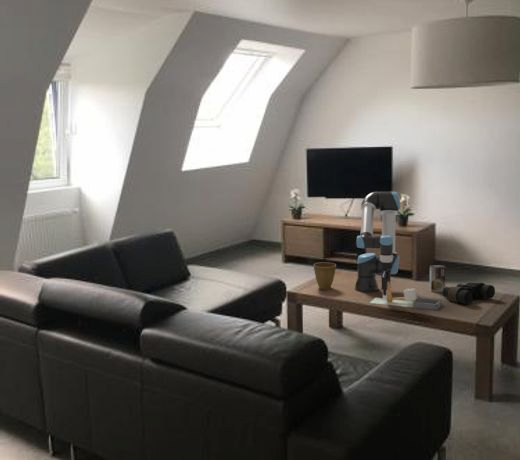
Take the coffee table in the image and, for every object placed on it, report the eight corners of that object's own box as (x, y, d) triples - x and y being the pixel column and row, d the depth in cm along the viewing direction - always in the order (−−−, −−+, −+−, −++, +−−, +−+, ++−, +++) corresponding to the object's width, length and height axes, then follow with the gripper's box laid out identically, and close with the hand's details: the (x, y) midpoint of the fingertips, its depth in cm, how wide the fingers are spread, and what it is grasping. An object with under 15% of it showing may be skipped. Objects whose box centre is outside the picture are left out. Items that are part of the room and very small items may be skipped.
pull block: (385, 302, 371) (382, 283, 370) (388, 300, 377) (384, 281, 376) (415, 300, 363) (411, 280, 362) (417, 297, 368) (413, 278, 367)
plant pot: (310, 289, 407) (310, 266, 404) (317, 284, 420) (317, 261, 418) (332, 291, 401) (332, 267, 398) (338, 286, 415) (338, 262, 412)
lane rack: (369, 303, 372) (369, 297, 372) (375, 298, 383) (375, 292, 382) (437, 311, 354) (437, 304, 354) (441, 305, 365) (441, 299, 364)
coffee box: (443, 289, 401) (444, 265, 398) (445, 291, 394) (446, 267, 392) (429, 289, 402) (429, 265, 399) (430, 291, 395) (431, 267, 393)
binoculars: (464, 307, 360) (464, 290, 359) (437, 302, 377) (436, 286, 376) (495, 298, 375) (495, 282, 374) (467, 294, 392) (467, 278, 391)
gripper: (388, 264, 361) (388, 303, 365) (395, 259, 376) (395, 296, 380) (376, 263, 364) (376, 302, 368) (383, 258, 379) (383, 295, 383)
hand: (385, 299), depth 374 cm, fingers closed on pull block, 4 cm apart
